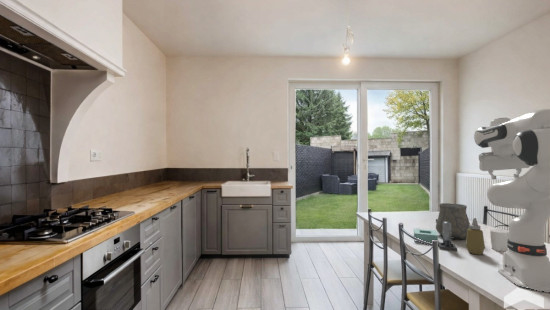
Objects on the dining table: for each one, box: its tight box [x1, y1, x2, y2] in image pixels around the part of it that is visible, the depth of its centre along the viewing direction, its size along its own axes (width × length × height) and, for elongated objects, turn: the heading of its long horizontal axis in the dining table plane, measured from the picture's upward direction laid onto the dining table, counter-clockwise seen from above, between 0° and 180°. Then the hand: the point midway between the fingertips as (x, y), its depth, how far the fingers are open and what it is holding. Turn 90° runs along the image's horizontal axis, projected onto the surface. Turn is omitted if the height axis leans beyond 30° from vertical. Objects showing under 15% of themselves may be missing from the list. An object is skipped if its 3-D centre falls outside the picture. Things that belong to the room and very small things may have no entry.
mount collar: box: [437, 241, 458, 252], centre depth 153 cm, size 8×8×2 cm
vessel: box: [435, 202, 471, 240], centre depth 174 cm, size 22×22×20 cm
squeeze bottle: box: [465, 217, 486, 256], centre depth 145 cm, size 8×8×18 cm
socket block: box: [413, 228, 439, 244], centre depth 167 cm, size 12×12×5 cm
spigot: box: [442, 221, 453, 247], centre depth 153 cm, size 4×4×14 cm
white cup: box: [489, 228, 509, 253], centre depth 150 cm, size 8×8×10 cm
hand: (505, 178), depth 139 cm, fingers open, 8 cm apart
